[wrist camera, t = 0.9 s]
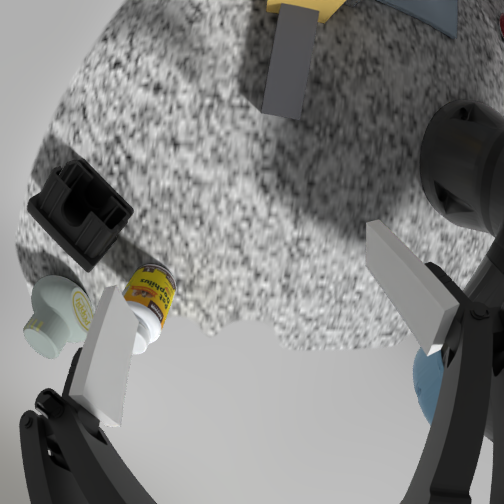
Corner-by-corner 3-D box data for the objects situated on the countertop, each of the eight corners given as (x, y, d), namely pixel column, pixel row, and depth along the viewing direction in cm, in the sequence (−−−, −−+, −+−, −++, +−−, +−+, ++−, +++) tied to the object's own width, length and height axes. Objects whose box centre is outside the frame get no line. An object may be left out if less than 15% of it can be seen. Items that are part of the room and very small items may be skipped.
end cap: (53, 197, 28) (19, 219, 22) (79, 153, 26) (42, 169, 20) (107, 251, 32) (81, 282, 26) (139, 213, 29) (113, 242, 23)
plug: (329, -8, 17) (353, -40, 10) (306, 121, 24) (326, 127, 17) (272, -20, 17) (277, -58, 10) (248, 110, 24) (245, 111, 17)
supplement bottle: (186, 282, 33) (165, 345, 24) (161, 306, 35) (138, 366, 26) (150, 252, 31) (116, 310, 22) (127, 279, 33) (94, 336, 24)
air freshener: (39, 266, 33) (1, 308, 24) (78, 264, 32) (39, 312, 24) (67, 323, 38) (40, 367, 29) (106, 326, 38) (80, 376, 29)
